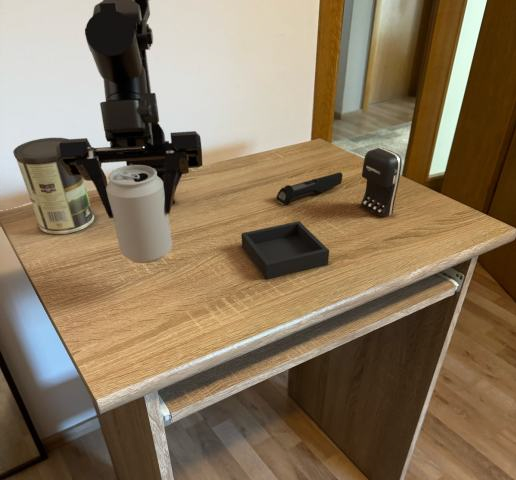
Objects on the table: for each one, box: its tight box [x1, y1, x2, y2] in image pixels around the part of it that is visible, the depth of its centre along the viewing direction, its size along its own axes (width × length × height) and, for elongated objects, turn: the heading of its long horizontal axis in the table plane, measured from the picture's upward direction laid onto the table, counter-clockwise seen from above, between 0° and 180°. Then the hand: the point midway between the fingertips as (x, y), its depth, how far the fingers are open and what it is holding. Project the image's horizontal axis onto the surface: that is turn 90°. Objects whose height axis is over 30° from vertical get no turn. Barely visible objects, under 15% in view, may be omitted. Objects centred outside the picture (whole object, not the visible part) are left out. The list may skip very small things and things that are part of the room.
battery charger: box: [360, 147, 403, 217], centre depth 91 cm, size 7×4×11 cm, turn 32°
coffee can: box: [12, 137, 95, 235], centre depth 89 cm, size 10×10×14 cm
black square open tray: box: [240, 220, 330, 280], centre depth 82 cm, size 11×11×3 cm
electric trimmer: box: [276, 171, 343, 206], centre depth 100 cm, size 4×16×3 cm, turn 122°
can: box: [106, 165, 173, 264], centre depth 67 cm, size 8×8×12 cm
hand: (139, 215), depth 66 cm, fingers closed on can, 7 cm apart
